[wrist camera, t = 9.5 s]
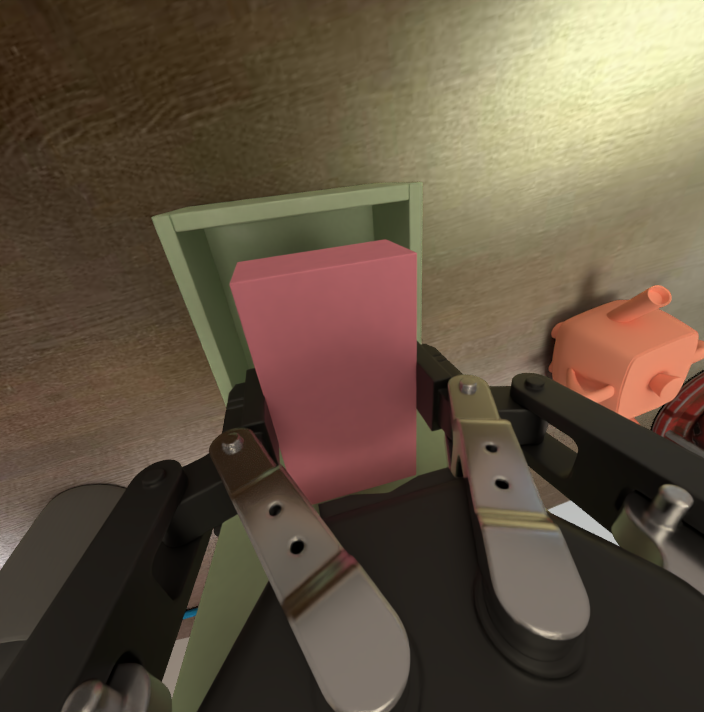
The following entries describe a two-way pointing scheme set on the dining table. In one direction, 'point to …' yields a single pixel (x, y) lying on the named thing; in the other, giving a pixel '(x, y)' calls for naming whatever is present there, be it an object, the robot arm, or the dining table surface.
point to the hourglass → (684, 417)
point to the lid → (254, 585)
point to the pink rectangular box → (336, 361)
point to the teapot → (626, 353)
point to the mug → (48, 561)
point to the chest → (275, 251)
